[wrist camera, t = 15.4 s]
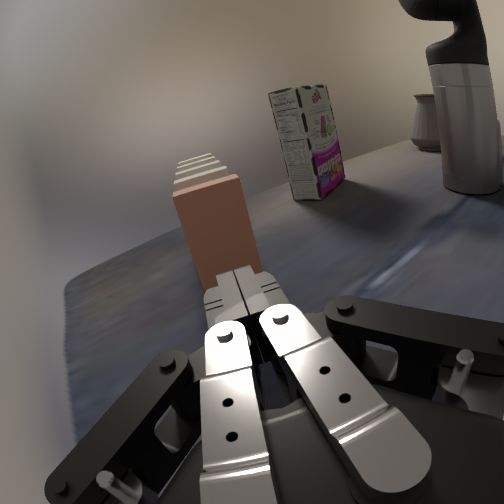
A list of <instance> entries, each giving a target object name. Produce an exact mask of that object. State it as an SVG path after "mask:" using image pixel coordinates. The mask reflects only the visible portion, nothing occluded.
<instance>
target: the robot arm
mask: <svg viewBox="0 0 504 504" xmlns="http://www.w3.org/2000/svg"><path fill="white" fill-rule="evenodd" d="M399 2H400V4H401V6H402V7H403V9H404V10H405V11H406V12H407V13H408V14H409V15H411V16H412V17H414V18H417V19H420V20H429V21H453V24H454V34H453V35H451V36H450V37H449V38H447V39H445V40H443V41H440V42H437V43H434V44H432V45H430V46H428V47H427V48H426V57H427V62H428V66H429V70H430V76H431V81H432V86H433V91H434V98H435V104H436V111H437V118H438V126H439V135H440V145H441V156H442V172H443V185H444V186H445V187H447V188H448V189H451V190H454V191H457V192H462V193H468V194H489V193H493V192H496V191H498V190H499V188H500V185H501V184H502V146H501V130H500V122H499V120H497V113H496V105H495V97H494V90H493V84H492V79H491V73H490V67H489V63H488V57H487V44H486V37H485V33H484V29H483V25H482V21H481V17H480V13H479V9H478V6H477V2H476V0H399ZM233 270H234V273H235V277H236V280H237V283H238V286H237V283H236V280H235V277H234V274H233V272H232V270H230V271H227V272H223V273H220V274H217V275H216V278H217V282H218V286H217V287H213V288H210V289H207V291H206V293H205V295H204V297H203V298H204V304H205V310H206V317H207V324H208V330H209V331H208V332H207V334H206V336H205V344H204V345H203V346H202V347H201V348H200V349H198V350H197V351H195V352H193V353H191V354H190V355H188V356H187V355H186V354H185V353H184V352H182V351H180V350H169V351H166V352H163V353H161V354H159V355H158V356H157V357H155V358H154V359H153V360H152V361H151V363H150V364H149V365H148V366H147V367H146V368H145V369H144V370H143V372H142V373H141V374H140V375H139V376H138V377H137V378H136V379H135V380H134V382H133V383H132V384H131V385H130V386H129V387H128V388H127V389H126V391H125V392H124V393H123V394H122V395H121V396H120V397H119V398H118V399H117V401H116V402H115V403H114V404H113V405H112V406H111V407H110V408H109V410H108V411H107V412H106V413H105V414H104V415H103V416H102V417H101V418H100V420H99V421H98V422H97V423H96V424H95V425H94V426H93V427H92V429H91V430H90V431H89V432H88V433H87V434H86V435H85V436H84V437H83V439H82V440H81V441H80V442H79V443H78V444H77V445H76V446H75V448H74V449H73V450H72V451H71V452H70V453H69V454H68V455H67V457H66V458H65V459H64V460H63V461H62V462H61V463H60V464H59V465H58V467H57V468H56V469H55V470H54V471H53V472H52V473H51V474H50V476H49V477H48V479H47V481H46V483H45V489H44V490H45V496H46V498H47V500H48V501H49V503H50V504H504V421H503V420H502V419H503V414H504V323H499V322H493V321H487V320H481V319H475V318H469V317H463V316H458V315H452V314H446V313H440V312H435V311H429V310H424V309H418V308H413V307H407V306H402V305H397V304H391V303H386V302H381V301H376V300H370V299H365V298H360V297H355V296H340V297H337V298H334V299H332V300H331V301H329V302H328V303H327V304H326V306H325V309H324V312H319V313H302V312H300V310H299V309H298V308H297V307H295V306H293V305H291V304H290V303H289V301H288V299H287V298H286V296H285V295H284V293H283V291H282V290H281V288H280V286H279V285H278V283H277V281H276V280H275V278H274V276H273V275H271V274H269V273H267V272H265V271H264V272H261V273H258V274H254V272H253V270H252V268H251V266H250V264H249V265H246V266H243V267H239V268H236V269H233ZM238 287H239V288H238ZM239 290H240V291H239ZM240 293H241V294H240ZM253 331H254V332H253ZM254 334H255V336H254ZM255 337H256V339H255ZM256 340H257V342H258V345H259V348H260V350H261V353H262V356H263V359H264V361H265V362H268V361H271V363H272V365H273V369H274V372H275V375H276V378H277V380H278V382H279V383H280V385H281V387H282V389H283V391H284V393H285V395H286V397H287V399H288V400H289V402H290V404H289V405H288V406H286V407H283V408H279V409H271V410H269V409H268V405H267V401H266V396H265V392H264V388H263V383H262V380H261V377H260V376H261V371H260V368H259V364H262V363H263V361H262V358H261V355H260V352H259V348H258V345H257V342H256ZM366 340H368V341H372V342H376V343H380V344H384V345H388V346H391V347H393V348H394V349H395V350H396V351H397V352H398V353H395V352H391V351H387V350H383V349H379V348H375V347H371V346H367V345H366ZM170 405H171V406H172V408H171V410H170V411H169V412H168V414H167V415H166V416H165V417H164V419H163V420H162V421H161V423H160V424H159V425H158V426H157V428H156V429H155V425H156V423H157V421H158V420H159V419H160V417H161V416H162V415H163V414H164V412H165V411H166V410H167V409H168V407H169V406H170ZM154 429H155V430H154ZM201 433H202V440H201V441H200V442H199V443H198V444H196V445H195V446H194V448H193V449H192V450H191V451H190V449H191V448H192V446H193V445H194V443H195V442H196V441H197V439H198V438H199V436H200V435H201ZM189 451H190V453H189V454H188V452H189ZM187 454H188V455H187ZM186 455H187V457H186V458H185V456H186ZM184 458H185V460H184V462H183V463H182V465H181V466H180V468H179V469H178V471H177V472H176V474H175V475H174V477H173V478H172V480H171V481H170V483H169V484H168V486H167V487H166V489H165V490H164V492H163V493H162V495H161V496H160V498H159V497H158V494H159V493H160V491H161V490H162V489H163V487H164V486H165V484H166V483H167V482H168V480H169V479H170V478H171V476H172V475H173V473H174V472H175V471H176V469H177V468H178V466H179V465H180V464H181V462H182V461H183V459H184Z"/></svg>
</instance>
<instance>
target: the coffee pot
mask: <svg viewBox="0 0 504 504" xmlns="http://www.w3.org/2000/svg"><path fill="white" fill-rule="evenodd" d="M414 97H416V100H417V102H418V105H417V109H416V113H415V117H414V121H413V126H412V130H411V133H410V139H411V140H412V142H413V143H414V144H415V145H416V146H418V147H419V149H421V150H428V151H440V150H441V145H440V135H439V126H438V118H437V111H436V104H435V98H434V94H425V95H424V94H422V95H414Z"/></svg>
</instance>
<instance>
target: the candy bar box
mask: <svg viewBox="0 0 504 504" xmlns="http://www.w3.org/2000/svg"><path fill="white" fill-rule="evenodd" d="M268 95H269V99H270V103H271V107H272V111H273V115H274V119H275V123H276V127H277V130H278V135H279V139H280V142H281V147H282V151H283V156H284V159H285V164H286V168H287V173H288V177H289V182H290V186H291V190H292V195H293V199H294V200H298V201H304V200H322V199H323V198H324V197H326V196H327V195H328V194H329V193H330V192H331V191H332V190H333V189H334V188H335V187H336V186H337V185H338V184H339V183H340V182H342V181H343V180H344V179H345V174H344V168H343V162H342V157H341V152H340V146H339V141H338V136H337V131H336V126H335V121H334V118H333V112H332V108H331V103H330V99H329V95H328V91H327V87H326V85H325V84H321V85H308V86H297V87H291V88H287V89H282V90H278V91H275V92H271V93H268Z"/></svg>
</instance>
